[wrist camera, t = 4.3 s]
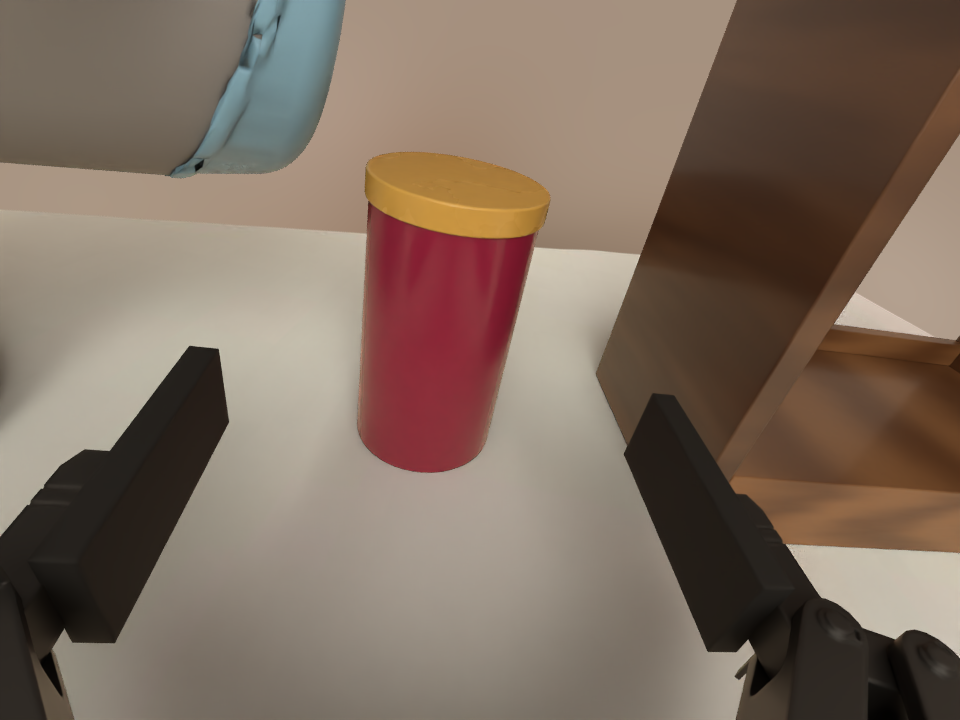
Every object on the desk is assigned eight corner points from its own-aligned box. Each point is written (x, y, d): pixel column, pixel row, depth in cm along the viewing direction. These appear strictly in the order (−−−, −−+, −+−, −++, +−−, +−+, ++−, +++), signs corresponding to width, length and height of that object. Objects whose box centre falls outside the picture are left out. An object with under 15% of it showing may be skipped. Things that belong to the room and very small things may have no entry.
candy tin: (344, 470, 21) (353, 188, 15) (363, 377, 27) (376, 142, 20) (496, 480, 22) (569, 222, 16) (484, 388, 28) (534, 168, 21)
